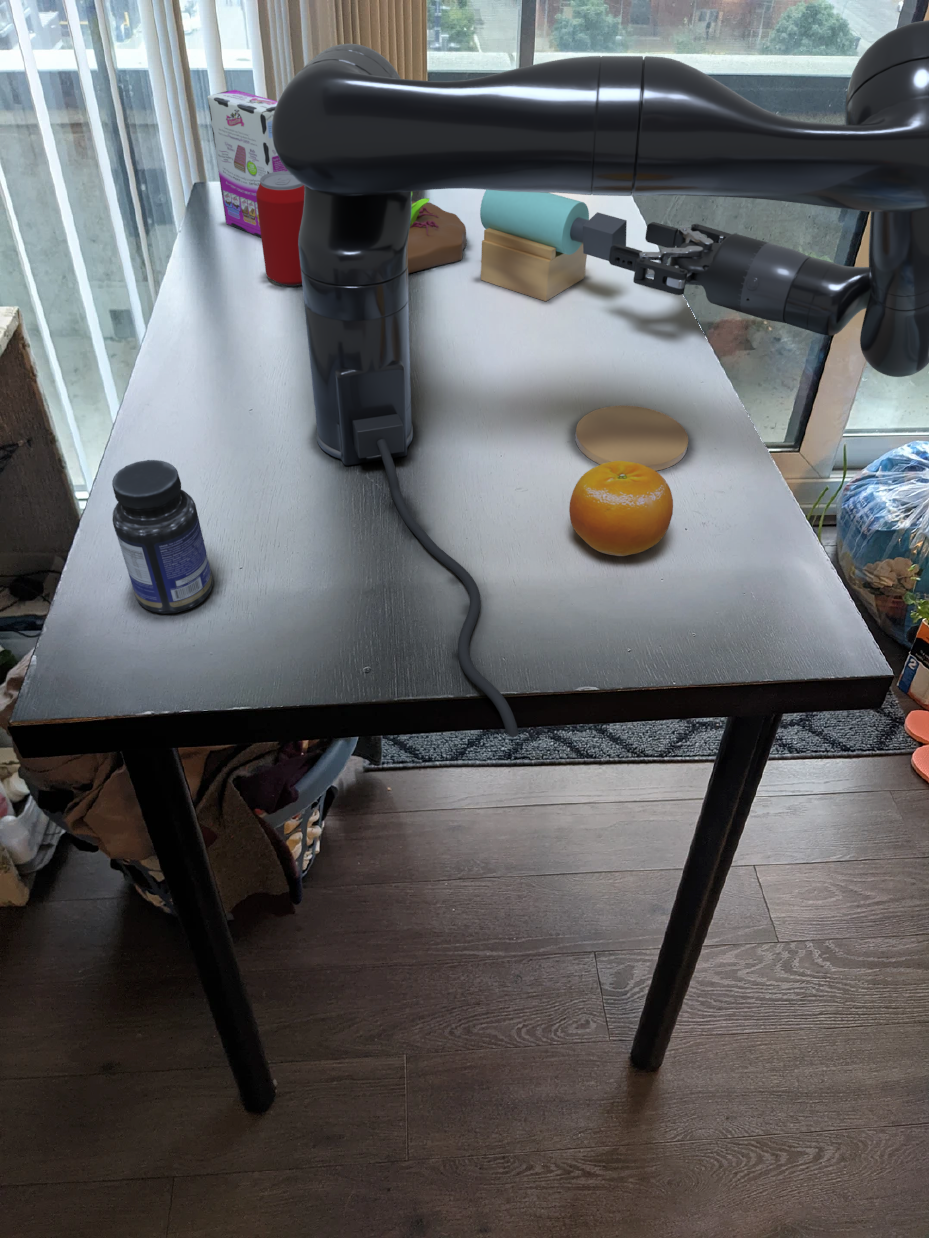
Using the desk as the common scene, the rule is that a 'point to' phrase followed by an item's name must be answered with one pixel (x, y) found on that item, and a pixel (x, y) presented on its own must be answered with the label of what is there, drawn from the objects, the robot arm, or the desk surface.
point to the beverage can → (281, 225)
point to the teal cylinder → (552, 222)
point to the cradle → (529, 265)
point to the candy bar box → (243, 152)
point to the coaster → (631, 436)
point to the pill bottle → (160, 537)
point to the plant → (434, 236)
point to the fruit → (621, 508)
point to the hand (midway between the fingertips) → (629, 242)
